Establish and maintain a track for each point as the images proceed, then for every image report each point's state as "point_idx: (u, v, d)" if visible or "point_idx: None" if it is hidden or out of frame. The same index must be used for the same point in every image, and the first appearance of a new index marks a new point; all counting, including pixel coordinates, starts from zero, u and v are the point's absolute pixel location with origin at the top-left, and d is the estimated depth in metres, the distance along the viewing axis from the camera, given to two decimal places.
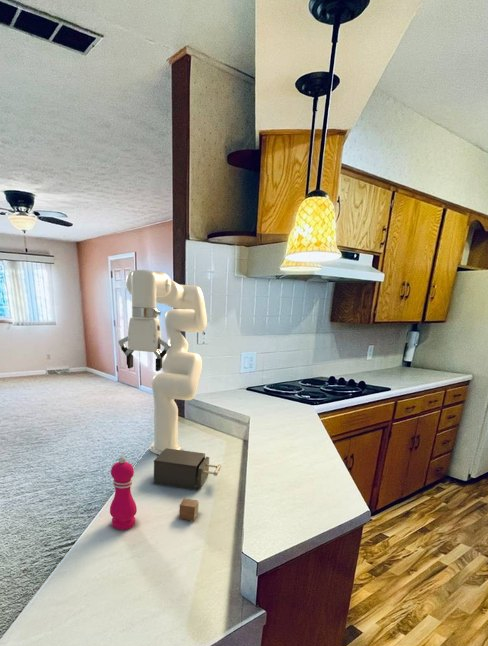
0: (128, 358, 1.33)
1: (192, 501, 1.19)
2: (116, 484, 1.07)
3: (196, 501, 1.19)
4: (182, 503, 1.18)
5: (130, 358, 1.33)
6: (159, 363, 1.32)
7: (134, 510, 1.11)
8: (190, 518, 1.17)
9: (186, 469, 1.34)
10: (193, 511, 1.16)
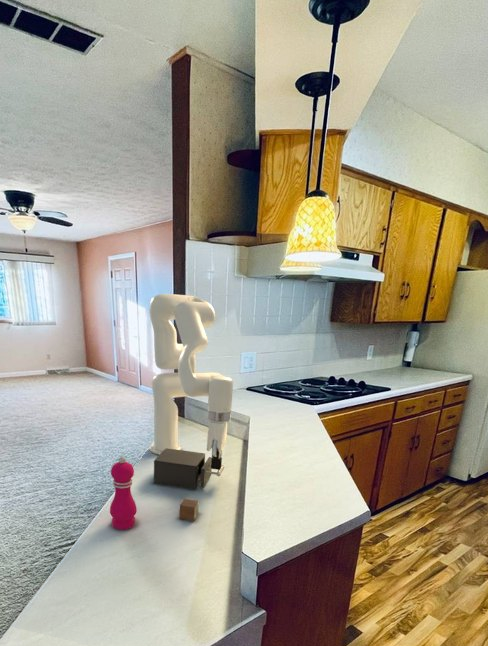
0: (220, 460, 1.37)
1: (192, 501, 1.19)
2: (116, 484, 1.07)
3: (196, 501, 1.19)
4: (182, 503, 1.18)
5: None
6: None
7: (134, 510, 1.11)
8: (190, 518, 1.17)
9: (186, 469, 1.34)
10: (193, 511, 1.16)
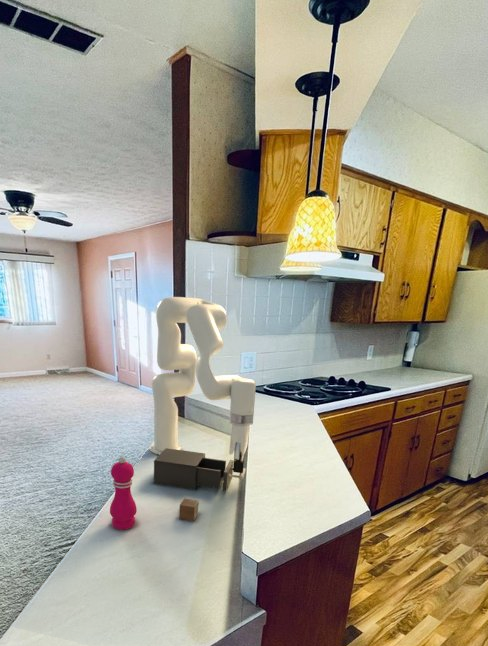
0: (243, 463, 1.35)
1: (192, 501, 1.19)
2: (116, 484, 1.07)
3: (196, 501, 1.19)
4: (182, 503, 1.18)
5: None
6: None
7: (134, 510, 1.11)
8: (190, 518, 1.17)
9: (186, 469, 1.34)
10: (193, 511, 1.16)
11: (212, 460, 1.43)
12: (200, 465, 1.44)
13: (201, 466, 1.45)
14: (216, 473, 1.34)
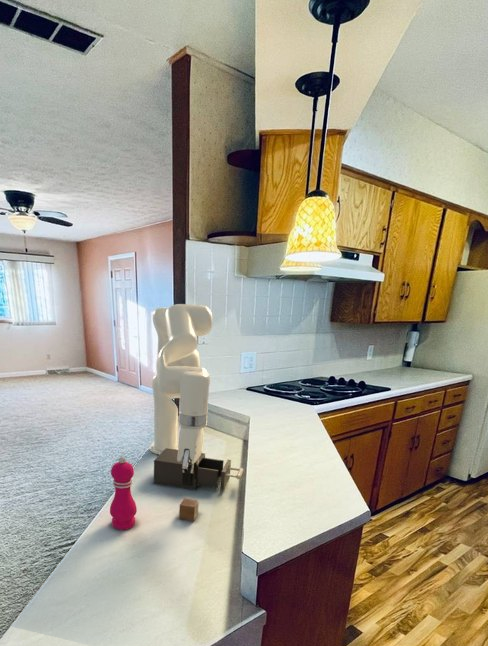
0: (194, 475, 1.12)
1: (192, 501, 1.19)
2: (116, 484, 1.07)
3: (196, 501, 1.19)
4: (182, 503, 1.18)
5: None
6: None
7: (134, 510, 1.11)
8: (190, 518, 1.17)
9: None
10: (193, 511, 1.16)
11: (210, 460, 1.43)
12: (198, 465, 1.45)
13: (199, 466, 1.45)
14: (214, 473, 1.34)
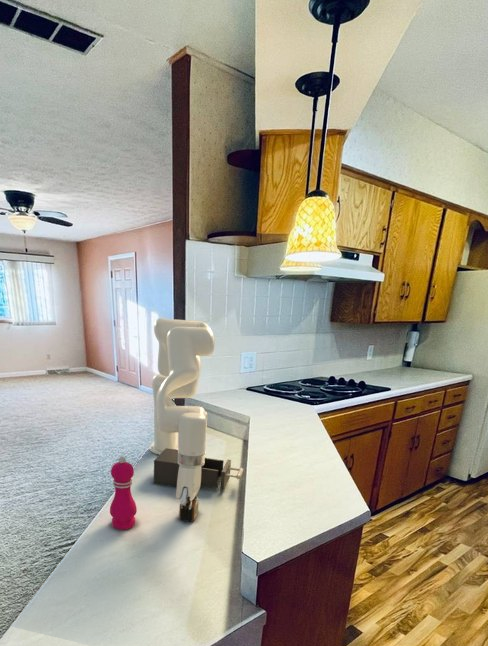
0: None
1: (192, 501, 1.19)
2: (116, 484, 1.07)
3: (196, 501, 1.19)
4: None
5: None
6: None
7: (134, 510, 1.11)
8: None
9: None
10: (193, 511, 1.16)
11: (210, 460, 1.43)
12: None
13: None
14: (214, 473, 1.34)
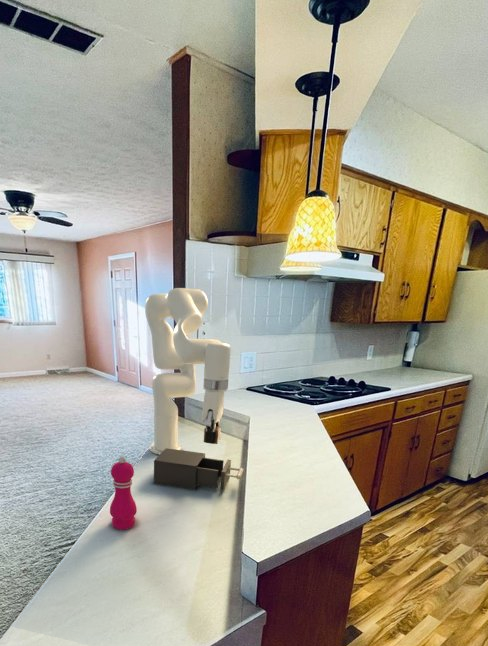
0: (215, 434, 1.29)
1: (215, 427, 1.32)
2: (116, 484, 1.07)
3: (219, 427, 1.32)
4: None
5: None
6: None
7: (134, 510, 1.11)
8: None
9: (186, 469, 1.34)
10: (216, 434, 1.29)
11: (210, 460, 1.43)
12: (198, 465, 1.45)
13: (199, 466, 1.45)
14: (214, 473, 1.34)
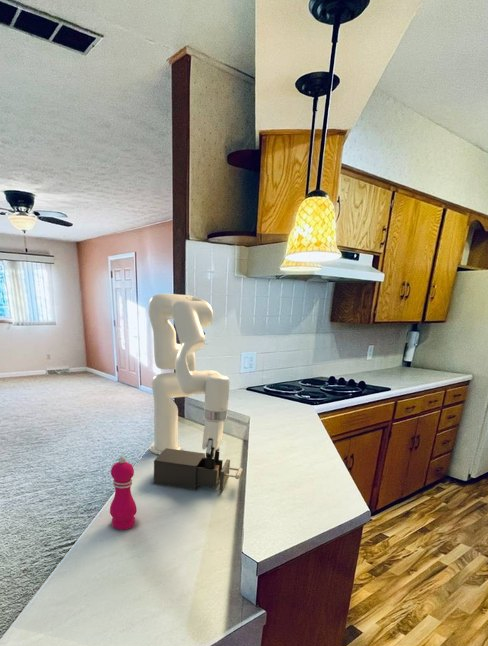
0: (214, 461, 1.34)
1: None
2: (116, 484, 1.07)
3: (217, 466, 1.40)
4: None
5: None
6: None
7: (134, 510, 1.11)
8: None
9: (186, 469, 1.34)
10: None
11: None
12: None
13: (198, 466, 1.45)
14: (213, 473, 1.34)
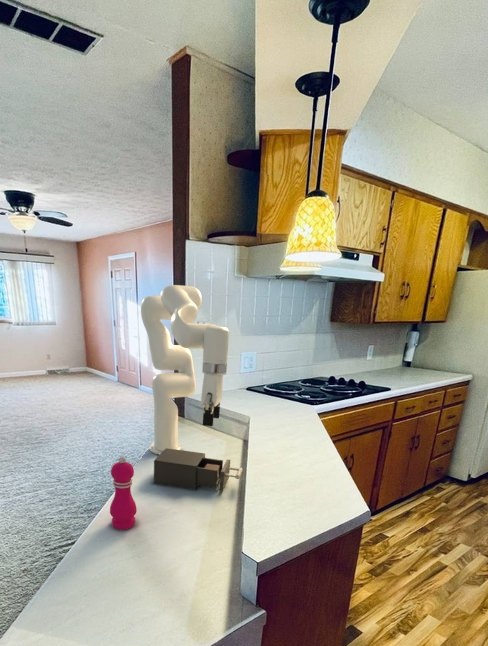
0: (213, 416, 1.27)
1: (214, 466, 1.40)
2: (116, 484, 1.07)
3: (218, 466, 1.40)
4: (206, 467, 1.38)
5: None
6: None
7: (134, 510, 1.11)
8: None
9: (186, 469, 1.34)
10: None
11: (209, 460, 1.43)
12: None
13: (198, 466, 1.45)
14: (213, 473, 1.34)
